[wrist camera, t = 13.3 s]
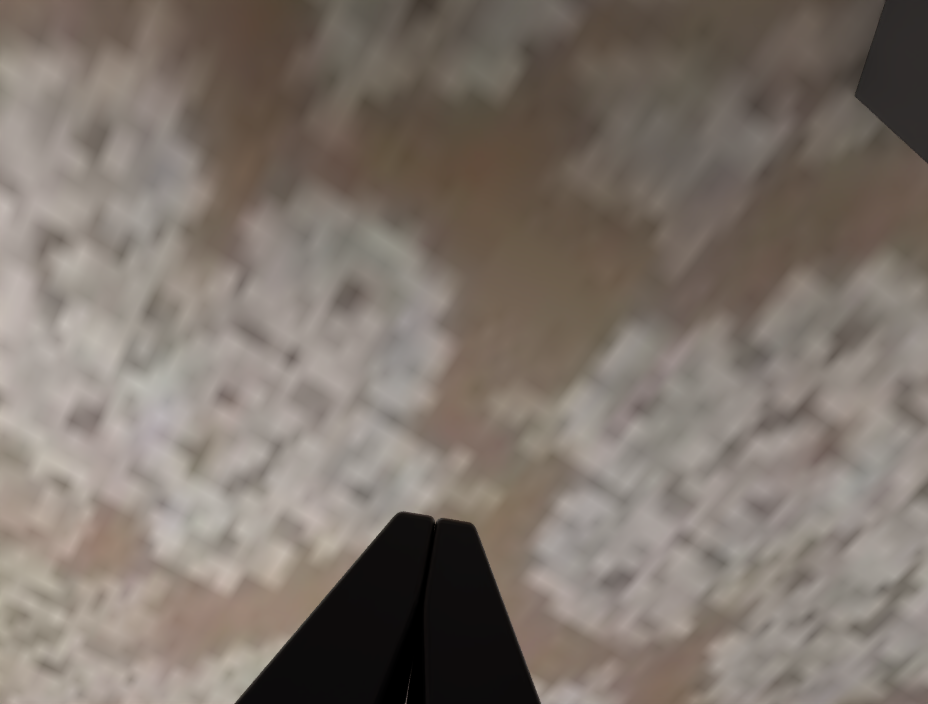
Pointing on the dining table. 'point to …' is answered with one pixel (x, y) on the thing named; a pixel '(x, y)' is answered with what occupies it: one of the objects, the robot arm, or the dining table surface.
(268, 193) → the dining table surface
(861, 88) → the dark gray rectangular block
